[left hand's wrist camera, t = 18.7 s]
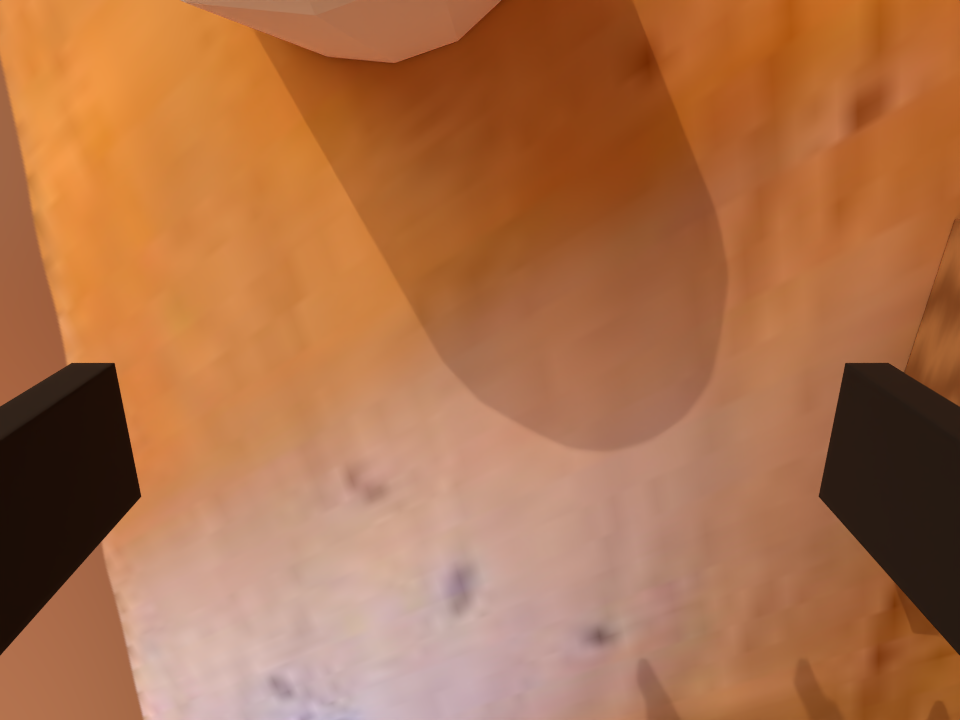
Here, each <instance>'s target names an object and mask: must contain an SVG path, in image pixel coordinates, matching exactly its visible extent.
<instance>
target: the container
mask: <svg viewBox="0 0 960 720" xmlns="http://www.w3.org/2000/svg"><path fill="white" fill-rule="evenodd" d="M181 1H183V2H185V3H188V4H190V5H193V6H196V7H198V8H201V9H204V10H206V11H209V12H211V13H214V14H217V15H219V16H222V17H225V18H227V19H230V20H232V21H235V22H238V23H240V24H243V25H246V26H248V27H251V28H253V29H256V30H259V31H261V32H264V33H267V34H269V35H272V36H274V37H277V38H280V39H282V40H285V41H288V42H290V43H293V44H295V45H298V46H301V47H303V48H306V49H309V50H311V51H314V52H317V53H319V54H322V55H324V56H327V57H336V58H347V59H357V60H368V61H378V62H389V63H396V62H399V61H402V60H405V59H408V58H410V57H413V56H416V55H419V54H422V53H425V52H428V51H430V50H433V49H436V48H439V47H442V46H445V45H448V44H451V43H453V42H456V41H458V40H459V39H461V38H462V37H463V36H464V35H465V34H466V33H467V32H468V31H469V30H470V29H471V28H472V27H473V26H474V25H476V24H477V23H478V22H479V21H480V20H481V19H482V18H483V17H484V16H485V15H486V14H487V13H488V12H489V11H491V10H492V9H493V8H494V7H495V6H496V5H497V4H498V3H499V2H500V1H501V0H181Z"/></svg>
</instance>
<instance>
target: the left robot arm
mask: <svg viewBox="0 0 960 720" xmlns="http://www.w3.org/2000/svg"><path fill="white" fill-rule="evenodd" d="M140 497H141V493H140V488H139V483H138V478H137V473H136V468H135V463H134V458H133V453H132V448H131V443H130V438H129V433H128V428H127V423H126V418H125V413H124V408H123V403H122V398H121V393H120V388H119V383H118V378H117V373H116V368H115V363H71V364H70V365H68V366H66V367H65V368H63V369H61V370H60V371H58V372H56V373H55V374H53V375H51V376H50V377H48V378H46V379H45V380H43V381H42V382H40V383H38V384H37V385H35V386H33V387H32V388H30V389H28V390H27V391H25V392H23V393H22V394H20V395H19V396H17V397H15V398H14V399H12V400H10V401H9V402H7V403H5V404H4V405H2V406H0V655H1V654H2V653H3V652H4V651H5V649H6V648H7V647H8V646H9V645H10V644H11V643H12V642H13V640H14V639H15V638H16V637H17V636H18V635H19V634H20V633H21V631H22V630H23V629H24V628H25V627H26V626H27V625H28V624H29V622H30V621H31V620H32V619H33V618H34V617H35V616H36V614H37V613H38V612H39V611H40V610H41V609H42V608H43V607H44V605H45V604H46V603H47V602H48V601H49V600H50V599H51V598H52V596H53V595H54V594H55V593H56V592H57V591H58V590H59V589H60V587H61V586H62V585H63V584H64V583H65V582H66V581H67V580H68V578H69V577H70V576H71V575H72V574H73V573H74V572H75V571H76V569H77V568H78V567H79V566H80V565H81V564H82V563H83V562H84V560H85V559H86V558H87V557H88V556H89V555H90V554H91V553H92V551H93V550H94V549H95V548H96V547H97V546H98V545H99V544H100V542H101V541H102V540H103V539H104V538H105V537H106V536H107V534H108V533H109V532H110V531H111V530H112V529H113V528H114V527H115V525H116V524H117V523H118V522H119V521H120V520H121V519H122V518H123V516H124V515H125V514H126V513H127V512H128V511H129V510H130V509H131V507H132V506H133V505H134V504H135V503H136V502H137V501H138V500H139V498H140ZM819 497H820V498H821V500H822V501H823V502H824V503H825V504H826V505H827V506H828V507H829V509H830V510H831V511H832V512H833V513H834V514H835V515H836V516H837V518H838V519H839V520H840V521H841V522H842V523H843V524H844V525H845V527H846V528H847V529H848V530H849V531H850V532H851V533H852V534H853V536H854V537H855V538H856V539H857V540H858V541H859V542H860V544H861V545H862V546H863V547H864V548H865V549H866V550H867V551H868V553H869V554H870V555H871V556H872V557H873V558H874V559H875V560H876V562H877V563H878V564H879V565H880V566H881V567H882V568H883V569H884V571H885V572H886V573H887V574H888V575H889V576H890V577H891V578H892V580H893V581H894V582H895V583H896V584H897V585H898V586H899V587H900V589H901V590H902V591H903V592H904V593H905V594H906V595H907V596H908V598H909V599H910V600H911V601H912V602H913V603H914V604H915V605H916V607H917V608H918V609H919V610H920V611H921V612H922V613H923V614H924V616H925V617H926V618H927V619H928V620H929V621H930V622H931V624H932V625H933V626H934V627H935V628H936V629H937V630H938V631H939V633H940V634H941V635H942V636H943V637H944V638H945V639H946V640H947V642H948V643H949V644H950V645H951V646H952V647H953V648H954V649H955V651H956V652H957V653H958V654H959V655H960V406H958V405H956V404H955V403H953V402H951V401H950V400H948V399H946V398H945V397H943V396H941V395H940V394H938V393H937V392H935V391H933V390H932V389H930V388H928V387H927V386H925V385H923V384H922V383H920V382H918V381H917V380H915V379H914V378H912V377H910V376H909V375H907V374H905V373H904V372H902V371H900V370H899V369H897V368H895V367H894V366H892V365H890V364H889V363H845V368H844V373H843V378H842V383H841V388H840V393H839V398H838V403H837V408H836V413H835V418H834V423H833V428H832V433H831V438H830V443H829V448H828V453H827V458H826V463H825V468H824V473H823V478H822V483H821V488H820V493H819Z"/></svg>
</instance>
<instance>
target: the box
mask: <svg viewBox="0 0 960 720" xmlns="http://www.w3.org/2000/svg"><path fill="white" fill-rule="evenodd" d="M905 374H907V375H909V376H910V377H912V378H914V379H915V380H917V381H918V382H920V383H922V384H923V385H925V386H927V387H928V388H930V389H932V390H933V391H935V392H937V393H938V394H940V395H941V396H943V397H945V398H946V399H948V400H950V401H951V402H953V403H955V404H956V405H958V406H960V219H956V220H955V221H954V224H953V227H952V230H951V233H950V236H949V239H948V242H947V245H946V248H945V251H944V254H943V257H942V260H941V264H940V267H939V270H938V273H937V276H936V279H935V282H934V285H933V288H932V291H931V294H930V297H929V300H928V303H927V306H926V309H925V312H924V315H923V318H922V321H921V324H920V327H919V330H918V333H917V336H916V339H915V342H914V345H913V348H912V351H911V354H910V358H909V361H908V364H907V367H906V370H905Z"/></svg>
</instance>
